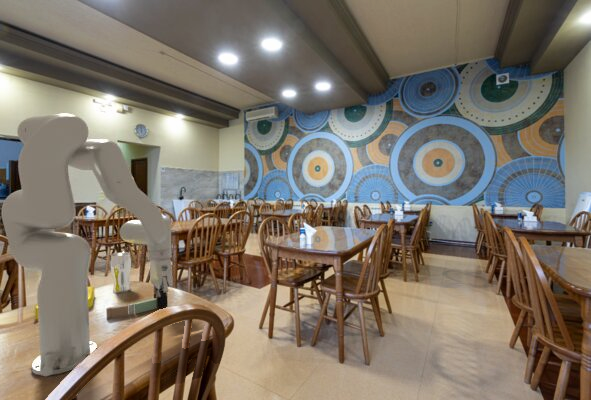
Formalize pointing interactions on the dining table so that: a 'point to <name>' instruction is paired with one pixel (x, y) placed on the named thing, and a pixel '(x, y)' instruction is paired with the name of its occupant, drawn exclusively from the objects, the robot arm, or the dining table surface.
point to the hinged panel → (146, 305)
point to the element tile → (90, 300)
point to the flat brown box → (119, 311)
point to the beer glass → (121, 271)
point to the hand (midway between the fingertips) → (160, 304)
